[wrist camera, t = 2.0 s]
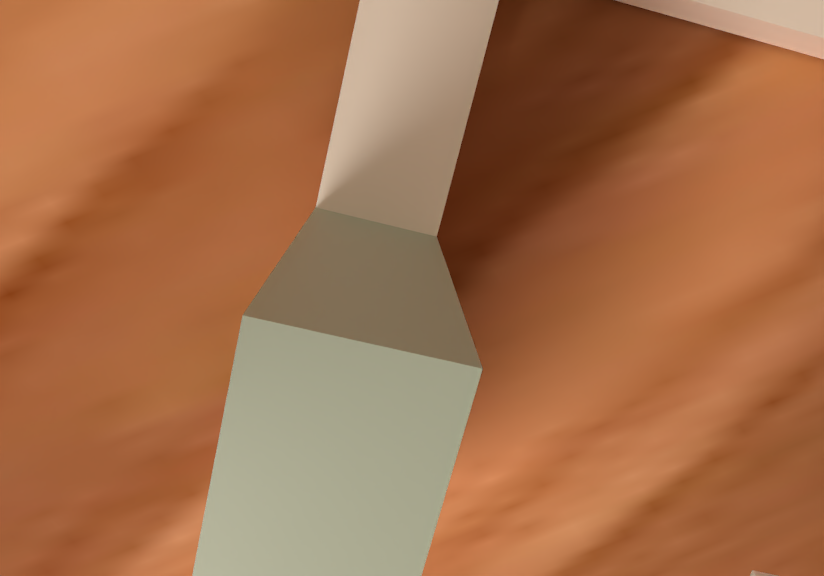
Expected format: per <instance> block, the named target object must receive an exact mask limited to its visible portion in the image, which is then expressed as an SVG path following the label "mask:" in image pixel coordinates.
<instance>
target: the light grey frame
mask: <svg viewBox="0 0 824 576" xmlns="http://www.w3.org/2000/svg"><path fill="white" fill-rule="evenodd" d="M615 1H619V2H622V3H626V4H629V5H633V6H637V7H640V8H644V9H647V10H651V11H654V12H658V13H661V14H665V15H668V16H672V17H676V18H679V19H683V20H686V21H690V22H693V23H697V24H700V25H704V26H707V27H711V28H714V29H718V30H722V31H725V32H729V33H732V34H736V35H739V36H743V37H746V38H750V39H753V40H757V41H761V42H764V43H768V44H771V45H775V46H778V47H782V48H785V49H789V50H792V51H796V52H800V53H803V54H807V55H810V56H814V57H817V58H821V59H824V0H615ZM498 2H499V0H360V2H359V7H358V12H357V16H356V21H355V26H354V30H353V35H352V40H351V44H350V49H349V54H348V58H347V63H346V68H345V73H344V77H343V82H342V87H341V91H340V96H339V101H338V105H337V110H336V115H335V119H334V124H333V129H332V133H331V138H330V143H329V147H328V152H327V157H326V162H325V166H324V171H323V176H322V180H321V185H320V190H319V194H318V199H317V204H316V208H315V209H314V211H313V212H312V214H311V215H310V217H309V218H308V220H307V221H306V223H305V224H304V225H303V227H302V228H301V230H300V231H299V233H298V234H297V236H296V237H295V239H294V240H293V242H292V243H291V245H290V246H289V248H288V249H287V251H286V252H285V254H284V255H283V256H282V258H281V259H280V261H279V262H278V264H277V265H276V267H275V268H274V270H273V271H272V273H271V274H270V276H269V277H268V279H267V280H266V282H265V283H264V285H263V286H262V287H261V289H260V290H259V292H258V293H257V295H256V296H255V298H254V299H253V301H252V302H251V304H250V305H249V307H248V308H247V310H246V311H245V313H244V314H243V316H242V321H241V327H240V332H239V337H238V342H237V347H236V352H235V358H234V363H233V368H232V373H231V378H230V383H229V389H228V394H227V399H226V404H225V409H224V414H223V420H222V425H221V430H220V435H219V440H218V445H217V451H216V456H215V461H214V466H213V471H212V477H211V482H210V487H209V492H208V497H207V502H206V508H205V513H204V518H203V523H202V528H201V533H200V539H199V544H198V549H197V554H196V559H195V564H194V570H193V575H192V576H421V575H422V572H423V569H424V565H425V562H426V558H427V555H428V552H429V548H430V545H431V542H432V538H433V535H434V531H435V528H436V525H437V521H438V518H439V515H440V511H441V508H442V504H443V501H444V498H445V494H446V491H447V488H448V484H449V481H450V477H451V474H452V471H453V467H454V464H455V461H456V457H457V454H458V450H459V447H460V444H461V440H462V437H463V434H464V430H465V427H466V423H467V420H468V417H469V413H470V410H471V407H472V403H473V400H474V396H475V393H476V390H477V386H478V383H479V380H480V376H481V373H482V369H483V368H482V365H481V362H480V359H479V357H478V354H477V351H476V348H475V345H474V342H473V339H472V336H471V334H470V331H469V328H468V325H467V322H466V319H465V316H464V313H463V311H462V308H461V305H460V302H459V299H458V296H457V293H456V290H455V288H454V285H453V282H452V279H451V276H450V273H449V270H448V267H447V265H446V262H445V259H444V256H443V253H442V250H441V247H440V244H439V242H438V239H437V234H438V230H439V226H440V223H441V219H442V215H443V211H444V207H445V204H446V200H447V196H448V192H449V188H450V185H451V181H452V177H453V173H454V169H455V166H456V162H457V158H458V154H459V150H460V147H461V143H462V139H463V135H464V131H465V128H466V124H467V120H468V116H469V112H470V109H471V105H472V101H473V97H474V93H475V90H476V86H477V82H478V78H479V74H480V71H481V67H482V63H483V59H484V55H485V52H486V48H487V44H488V40H489V36H490V33H491V29H492V25H493V21H494V17H495V14H496V10H497V6H498Z"/></svg>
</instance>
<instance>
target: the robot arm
mask: <svg viewBox="0 0 824 576" xmlns="http://www.w3.org/2000/svg"><path fill="white" fill-rule="evenodd" d="M750 576H778V575H773V574H768V573H763V572H759V571H754V570H752V572H751V574H750Z"/></svg>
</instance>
